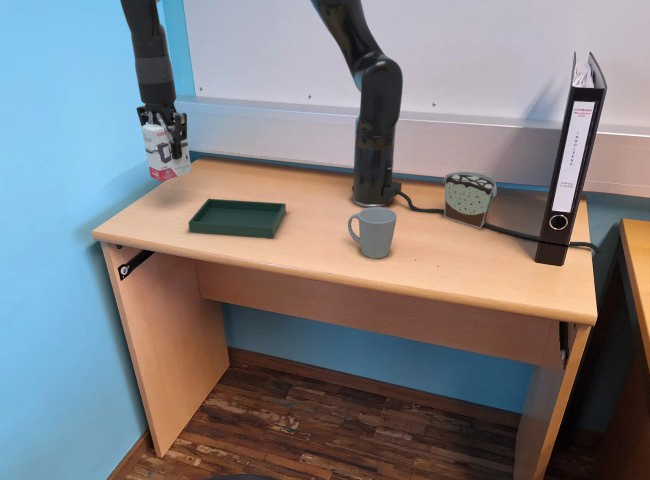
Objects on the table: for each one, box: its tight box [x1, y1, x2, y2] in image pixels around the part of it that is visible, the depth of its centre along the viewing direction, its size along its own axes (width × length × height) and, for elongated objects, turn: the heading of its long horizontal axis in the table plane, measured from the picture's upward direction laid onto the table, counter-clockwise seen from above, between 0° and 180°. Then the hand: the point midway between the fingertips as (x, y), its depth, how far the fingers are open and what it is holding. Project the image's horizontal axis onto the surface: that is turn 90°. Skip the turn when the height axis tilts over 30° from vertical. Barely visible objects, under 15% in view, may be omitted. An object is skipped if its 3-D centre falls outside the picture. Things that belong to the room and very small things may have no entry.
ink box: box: [140, 123, 192, 183], centre depth 123 cm, size 8×5×12 cm, turn 134°
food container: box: [442, 171, 498, 230], centre depth 122 cm, size 12×6×10 cm, turn 47°
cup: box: [347, 206, 398, 259], centre depth 111 cm, size 8×10×8 cm
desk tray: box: [188, 198, 287, 239], centre depth 125 cm, size 19×13×2 cm
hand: (168, 155), depth 124 cm, fingers closed on ink box, 5 cm apart
